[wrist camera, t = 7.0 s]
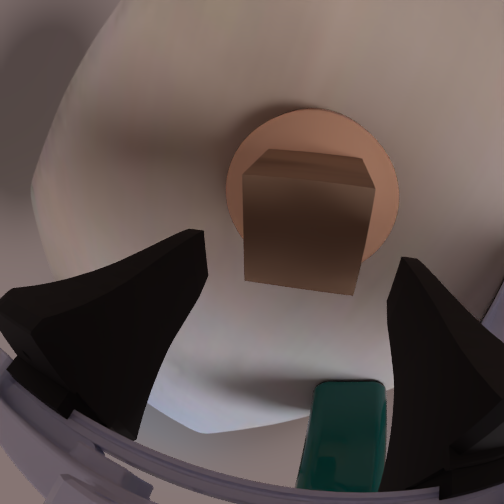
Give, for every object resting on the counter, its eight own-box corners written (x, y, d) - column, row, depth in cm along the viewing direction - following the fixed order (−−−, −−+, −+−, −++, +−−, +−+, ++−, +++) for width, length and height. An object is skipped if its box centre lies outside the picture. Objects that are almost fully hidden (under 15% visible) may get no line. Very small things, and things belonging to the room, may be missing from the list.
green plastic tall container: (388, 378, 26) (372, 573, 8) (376, 412, 31) (357, 566, 13) (302, 377, 29) (253, 566, 11) (304, 411, 34) (266, 561, 16)
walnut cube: (349, 241, 16) (352, 295, 12) (267, 230, 17) (244, 280, 13) (361, 158, 14) (375, 188, 10) (268, 148, 15) (242, 174, 11)
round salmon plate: (373, 255, 20) (378, 283, 17) (243, 238, 22) (229, 262, 19) (397, 119, 15) (412, 126, 12) (241, 104, 17) (223, 107, 14)
